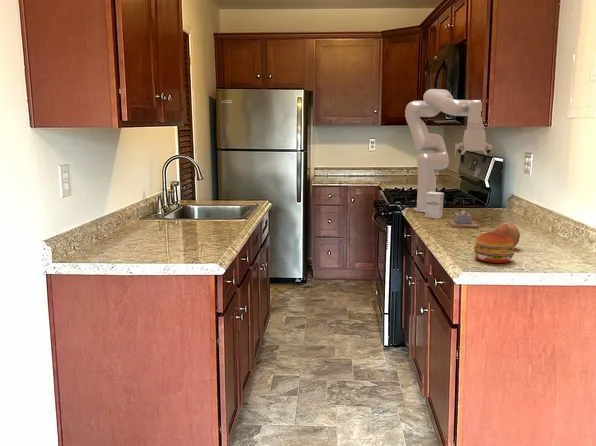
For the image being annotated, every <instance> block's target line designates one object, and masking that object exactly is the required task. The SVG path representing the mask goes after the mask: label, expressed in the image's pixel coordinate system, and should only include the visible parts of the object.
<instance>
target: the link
mask: <svg viewBox="0 0 596 446" xmlns="http://www.w3.org/2000/svg"><path fill="white" fill-rule="evenodd" d="M453 220H454V221H455V222H456V224H471V220H473V219H472V214H471V213H469V212H465V215H461V212H454V219H453Z"/></svg>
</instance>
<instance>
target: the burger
mask: <svg viewBox="0 0 596 446" xmlns="http://www.w3.org/2000/svg"><path fill="white" fill-rule="evenodd" d="M513 245H514V242H513V240H512V239H511V238H510V237H509V236H507V235H505V234H503V233H499V232H494V231H491V232H484V233H481V234H480V235H478V236H477V237H476V239H475V244H473V250H474V252H473V253H474V255H475V258H476V259H477V260H479V261H482V262H483V263H484V262H485V263H491V264H505V263H510V262H511V261H512V259H513V257H514V255H515V253H514V251H515V247H514V246H513Z"/></svg>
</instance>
